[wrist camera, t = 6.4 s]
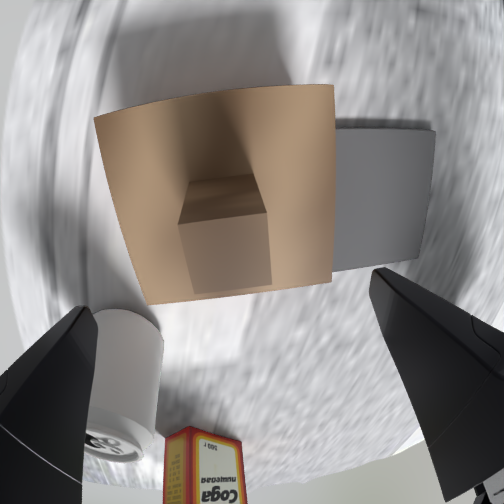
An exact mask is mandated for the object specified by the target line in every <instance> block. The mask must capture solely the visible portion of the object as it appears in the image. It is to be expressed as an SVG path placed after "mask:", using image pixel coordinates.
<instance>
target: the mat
mask: <svg viewBox="0 0 504 504" xmlns="http://www.w3.org/2000/svg"><path fill="white" fill-rule="evenodd" d="M335 130H336V197H335V229H334V250H333V266H332V272H337V271H344V270H350V269H357V268H363V267H369V266H375V265H381V264H388V263H394V262H399V261H405V260H411V259H417V258H418V257H419V252H420V247H421V242H422V237H423V232H424V227H425V221H426V215H427V209H428V203H429V196H430V188H431V180H432V172H433V162H434V151H435V137H436V131H433V130H426V129H407V128H335Z"/></svg>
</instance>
